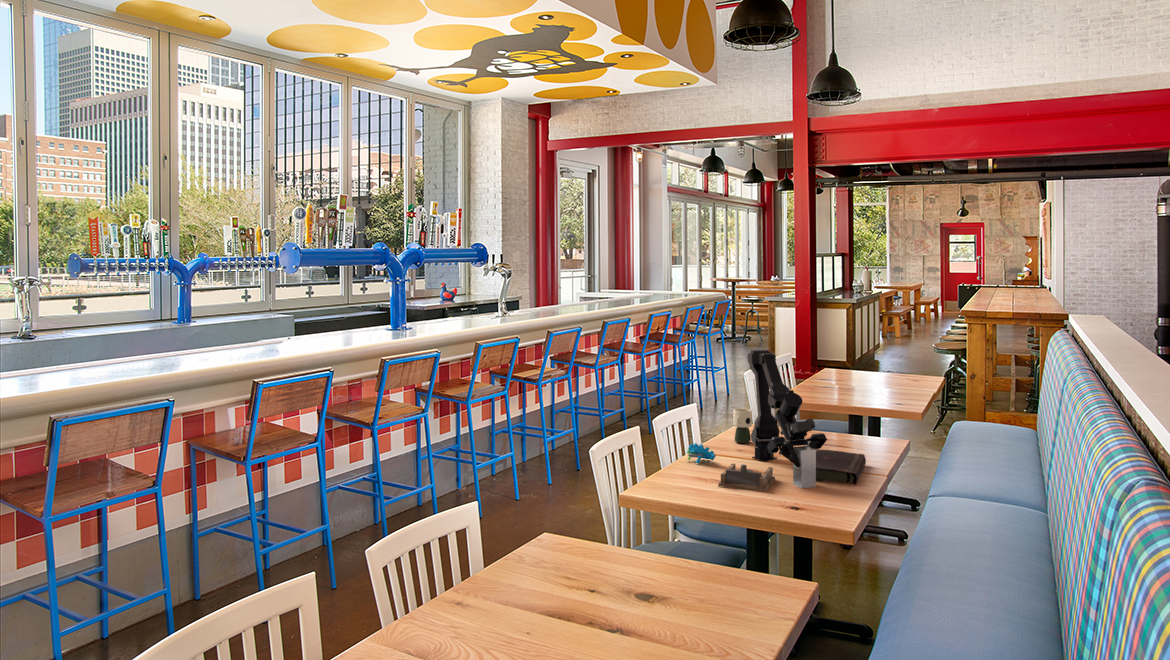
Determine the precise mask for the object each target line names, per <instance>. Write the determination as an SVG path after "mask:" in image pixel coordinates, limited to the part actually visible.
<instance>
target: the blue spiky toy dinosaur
mask: <svg viewBox="0 0 1170 660" xmlns="http://www.w3.org/2000/svg"><path fill="white" fill-rule="evenodd" d="M709 450H710V447H708V446H706V447H705V448H704V445H703V444H701V443H700V444H697V443H696V442H695V443H690V444H689V446H688V448H687V451H686V454H688V455H687V456H688V458H687V460H689V461H690V460H691V458H697V459H696V461H695V464H696V463H699V464H700V462H701V458H704V460H706V459H710V461H714V460H715V458H716V457H717V455H716V454H715V452H714V451H713V450H710V451H709Z"/></svg>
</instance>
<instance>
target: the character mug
mask: <svg viewBox="0 0 1170 660" xmlns="http://www.w3.org/2000/svg"><path fill="white" fill-rule="evenodd" d="M732 417H733V419H732V420H733V426H734V427H736V429H735V433H734V434H735V435H734V442H737V443H740V444H741V443H742V444H748V443H749V444H750V443H751V442H752V441H751V431H750V427H752V426H753V422H752V421H753V420H752V419H753V410H752V409H750V408H734V409H733V415H732Z"/></svg>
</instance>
